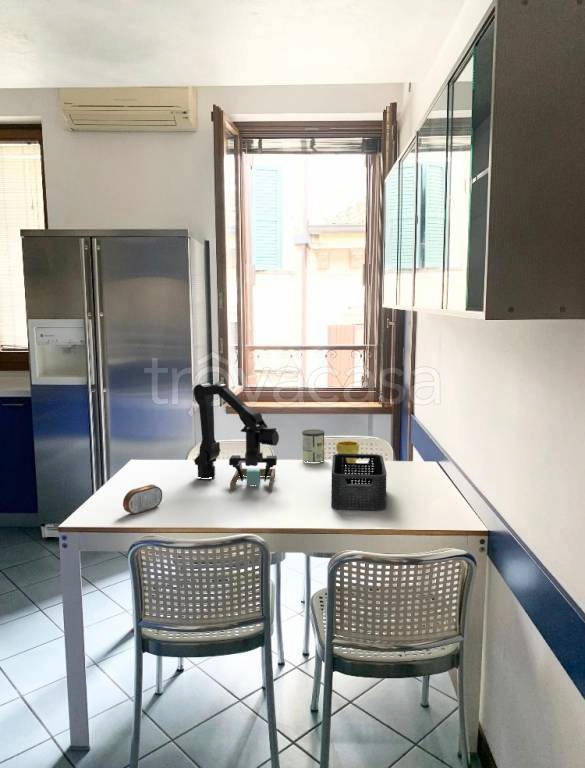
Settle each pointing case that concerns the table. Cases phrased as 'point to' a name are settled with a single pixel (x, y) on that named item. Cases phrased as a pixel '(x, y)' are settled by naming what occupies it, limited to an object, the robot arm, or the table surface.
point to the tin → (142, 499)
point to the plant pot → (348, 449)
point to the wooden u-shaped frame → (262, 473)
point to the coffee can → (313, 445)
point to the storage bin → (354, 494)
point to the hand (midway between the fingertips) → (253, 481)
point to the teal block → (253, 476)
